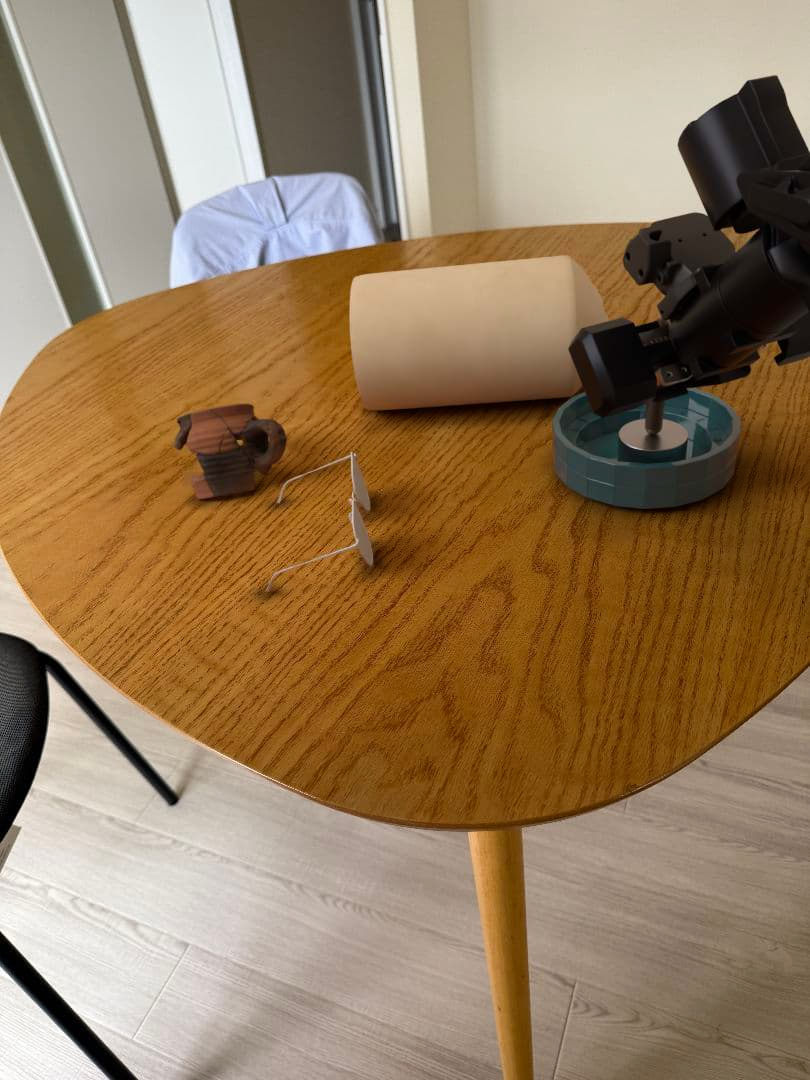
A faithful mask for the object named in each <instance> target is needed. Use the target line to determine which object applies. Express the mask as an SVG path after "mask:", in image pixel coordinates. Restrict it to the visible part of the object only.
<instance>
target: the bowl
mask: <svg viewBox="0 0 810 1080" xmlns="http://www.w3.org/2000/svg"><path fill="white" fill-rule="evenodd" d="M687 391H688V394H686V395H683V396H679V397H676V398H673V399H669V400H666V401H664V413H663V419H665V420H670V421H673V422H676V423H678V424H680V425H682V426H683V427H684V428H685V429H686V430H687V432H688V443H687V453H686V460H682V461H678V462H666V463H653V464H643V463H631V462H619V461H617V455H618V434H619V431H620V429H621V428H622V427H623V426H624V425H626V424H627V423H629V422H632V421H635V420H640V419H645V416H646V404H644V405H642V406H640V407H638V408H636V409H633V410H630V411H627V412H623V413H620V414H617V415H613V416H610V417H606V418H602V417H600V416H598V415H596V414H594V413H593V411H592V408H591V406H590V403H589V401H588V398H587V396H586V393H585V391H584V392H581V393H579V394H576V395H573V396H572V397H569V399H568V400H567V401H566V402H564V403H563V404H562V405H561V406H559V407H558V409H557V410H556V411H555V414H554V417H553V419H552V422H551V426H552V427H551V428H552V429H551V430H552V431H551V433H552V434H551V435H552V437H551V438H552V439H551V440H552V441H551V442H552V443H551V444H552V446H551V447H552V449H551V450H552V453H551V454H552V455H551V456H552V464H553V469H554V473H555V474H556V476H557V477H558V478H559V479H560V480H561V482H562V483H563V484H564V485H565V486H566V487H567V488H568V489H571V490H572V491H574V492H576V493H578V494H580V495H581V496H583V497H585V498H587V499H590V500H593V501H597V502H601V503H603V504H606V505H607V504H608V505H611V506H614V507H623V508H631V509H632V508H633V509H642V510H649V509H651V510H652V509H662V508H663V509H664V508H676V507H680V506H684V505H687V504H692V503H696V502H699V501H702V500H705V499H706V498H709V497H710V496H712V495H714V494H716V493H717V492H719V491H721V490H722V489H724V488H725V486H726V485H727V484H728V483H729V481H730V480H731V479H732V477H733V476H734V475H735V469H736V462H737V455H738V449H739V444H740V443H739V442H740V436H741V427H742V426H741V424H742V420H741V418H740V416H739V414H738V413H737V412H736V410H735V408H734V407H733V406H732V405H730V404H729V403H727V401H724V400H723V399H722V398H720V397H719V396H717V395H716V394H713V393H710V392H707V391H705V390H702V389H699V388H698V387H696V388H688V389H687Z"/></svg>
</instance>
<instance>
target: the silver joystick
mask: <svg viewBox="0 0 810 1080" xmlns="http://www.w3.org/2000/svg"><path fill="white" fill-rule="evenodd" d="M657 320H658V322H659V324H660V326H661V327H665V326H669V325H671V323H670V321H669V320H666V321H663V320H662V317H661V316H660V317H657V318H656V319H654V321H657ZM663 413H664V401H662V402H657V403H655V402H652V401H650V402H649V403H647V404H646V416H645V419H640V420H635V421H632V422H629V423H627V424H626V425H624V426H623V427H622V428H621V429H620V431H619V434H618V455H617V461H619V462H631V463H643V464H653V463H666V462H678V461H682V460H686V453H687V443H688V432H687V430H686V429H685V428H684V427H683V426H682V425H680V424H678V423H676V422H673V421H670V420H665V419H663Z"/></svg>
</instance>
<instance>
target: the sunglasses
mask: <svg viewBox="0 0 810 1080" xmlns="http://www.w3.org/2000/svg"><path fill="white" fill-rule="evenodd" d="M348 459H350V462H351V463H350V471H351V472H350V473H351V483H352V487H353V490H352V491H351V498H349V499H348V500H347V501H348V503H349V504H350V506H351V512H349V514H348V519H349V522H350V523H351V526H352V532H353V536H354V538H355V543H354V544H352V545H349V546H347V547H345V548H342V549H339V550H336V551H334V552H330V553H328V554H325V555H323V556H319V557H317V558H314V559H311V560H308V561H305V562H303V563H300V564H297V565H293V566H290V567H287V568H284V569H281V570H279V571H276V572H275V573H274V574H273V575H272V577H271V579H270V580H269V583H268V586H267V588H266V590H265V592H267V593H268V592H270V591H271V589H272V586H273V583H274V579H275V578H276V577H277V576H278V575H280V574H282V573H285V572H288V571H291V570H294V569H296V568H298V567H300V566H303V565H306V564H310V563H314V562H316V561H319V560H323V559H326V558H329V557H332V556H335V555H338V554H342V553H345V552H348V551H350V550H354V549H356V548H358V550H359V552H360V554H361V556H362V558H363V559H364V561H365V563H366V564H367V566H369V567H372V566H373V565H374V564H373V563H374V553H373V548H372V544H371V540H370V538H369V534H368V531H367V527H366V525H365V522H364V519H363V516H362V513H361V511H360V509H359V507H358V505H357V504H359V505H360V506H361V507H362V508H363V509H364V511H366V512H370V510H371V500H370V496H369V492H368V488H367V485H366V482H365V479H364V475H363V473H362V471H361V467H360V466H359V462H358V460H357V459H358V456H357V453H354V452H353V451H350V454H349V455H347V456H345V457H342V458H340V459H337V460H335V461H332V462H330V463H327V464H325V465H323V466H321V467H318V468H316V469H314V470H311V471H309V472H306V473H304V474H300V475H297V476H295V477H293V478H291V479H288V480H287V481H286V482H285V483H284V484H283V486H282V487H281V490H280V493H279V496H278V499H277V501H276V504H281V501H282V498H283V494H284V490H285V488H286V486H287V485H288V484H289V483H291V482H294V481H295V480H297V479H300V478H303V477H304V476H305V475H306V476H307V475H308V474H311V473H314V472H317V471H320V470H321V469H324V468H327V467H329V466H332V465H335V464H338V463H340V462H343V461H346V460H348ZM355 497H356V498H357V499H355ZM357 502H358V503H357Z"/></svg>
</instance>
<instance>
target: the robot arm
mask: <svg viewBox="0 0 810 1080" xmlns="http://www.w3.org/2000/svg"><path fill="white" fill-rule="evenodd" d="M788 103H789V102H788V99H787V94H786V92H785V89H784V87H783V85H782V82H781V80H780V78H779V76H778V75H777V74H773V75H768V76H762V77H758V78H753V79H748V80H746V81H745V82H744V84H743V85H742V86H741V88H740V89H739V90H738V92H737V93H735V94H733V95H731V96H729V97H727V98H725V99H723V100H721V101H720V102H718V103H717V104H715V105H713V106H712V107H711V108H709V109H708V110H706V111H705V112H704V113H703V114H702V115H700V116H699V117H698V118H697V119H694V120H691V121H690V122H689V123H688V124H687V125H686V126H685V127H684V129H683V130H682V131H681V133H680V136H679V138H678V141H677V149H678V151H679V154H680V156H681V158H682V161H683V163H684V165H685V168H686V170H687V172H688V174H689V177H690V179H691V181H692V183H693V185H694V188H695V190H696V192H697V195H698V197H699V199H700V202H701V205H702V206H703V208H704V211H705V213H702V212H696V211H695V212H689V213H684V214H680V215H676V216H671V217H667V218H663V219H660V220H656V221H653V222H652V223H651V224H650V226H648V227H644V228H640V229H639V230H638V233H637V234H636V235H635V236H634V237H633V238H631V239H629V241H628V243H627V245H626V247H625V251H624V254H623V257H622V264H623V268H624V269H625V271H626V272H627V273H628V275H629V276H630V277H631V278H632V280H633V281H634V282H635V284H636V285H637V286H646V285H649V284H653V285H654V286H655V287H656V288H657V290H658V291H659V292H660V293H661V294H662V295H663V296H664V297H663V298H662V299H661V300H660V302H658V304H656V308H657V311H658V313H659V314H660V318H661V317H662V320H663V321H666V320H669V322H670V325H669V326H665V327H661V326H660V324H659V322H658V320H657V321H655V320H653V321H650V322H646V323H643V324H639V325H638V324H637V325H636V324H635V322H633V321H632V320H630V319H628V318H626V317H624V316H623V317H622V316H621V317H618V318H615V319H611V320H609V321H607V322H603V323H599V324H596V325H592V326H588V327H584V328H581V330H580V331H579V332H578V333H577V335H576V336H575V337H574V338H573V339H572V341H571V343H570V346H569V348H568V350H569V353H570V355H571V358H572V360H573V363H574V365H575V368H576V370H577V373H578V375H579V378H580V380H581V383H582V385H583V386H582V388H583V390H584V392H585V393H586V396H587V398H588V401H589V403H590V406H591V408H592V411H593V413H594V414H596V415H598V416H600V417H602V418H606V417H610V416H613V415H617V414H620V413H623V412H627V411H630V410H633V409H636V408H638V407H640V406H642V405H644V404H647V403H649V402H650V401H652V402H655V403H657V402H662V401H666V400H669V399H673V398H676V397H679V396H683V395H686V394H688V391H687V389H688V388H704V387H711V386H718V385H719V386H720V385H723V384H726V383H730V382H733V381H737V380H740V379H744V378H747V377H748V376H750V374H751V372H752V367H751V365H753V364H755V363H756V362H757V361H759V360H760V359H761V356H760V352H759V351H761V350H763V349H765V348H766V347H767V344H772V343H775V342H776V343H777V345H778V347H779V350H780V351H781V352H779V353H778V354H777V355H775V356H774V357H773V359H774V361H775V364H776V365H777V366H778V367H782V366H785V365H789V364H792V363H796V362H799V361H802V360H807V359H808V358H810V150H809V147H808V145H807V144H806V143H807V142H806V141H805V138H804V137H803V134H802V132H801V130H800V128H799V126H798V124H797V121H796V119H795V118H794V116H793V113H792V111H791V109H790V106H789V104H788ZM729 228H732V229H733V231H734V233H735V234H737V235H744V234H749V233H752V232H754V231H756V232H755V233H754V234H753V235H752V236H751V237H750V238H749V239H748V240H747V241H746V242H745V243H744V244H743V245H741V247H740V248H738V250H737V251H736V246H735V244H734V243H733V242H732V241H731V239H730V238H729V237H728V236H727V235H726V234H725V233H724V232H723V231H722V230H723V229H729Z"/></svg>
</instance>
